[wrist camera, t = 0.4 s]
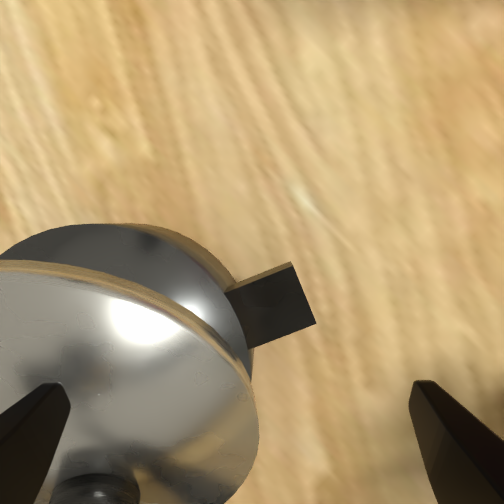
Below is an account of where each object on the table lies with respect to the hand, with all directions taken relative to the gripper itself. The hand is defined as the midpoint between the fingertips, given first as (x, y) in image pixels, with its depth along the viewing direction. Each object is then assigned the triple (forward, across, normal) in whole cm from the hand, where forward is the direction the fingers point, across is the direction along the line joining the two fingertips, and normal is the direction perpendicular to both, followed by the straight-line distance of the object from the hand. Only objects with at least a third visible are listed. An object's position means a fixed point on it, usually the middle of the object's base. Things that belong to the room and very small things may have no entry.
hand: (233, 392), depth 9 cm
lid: (+3, +8, +5) cm, 10 cm away
